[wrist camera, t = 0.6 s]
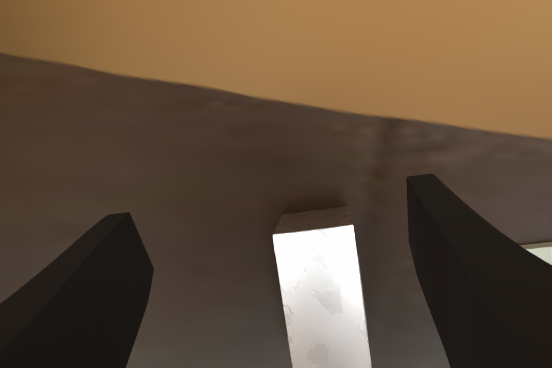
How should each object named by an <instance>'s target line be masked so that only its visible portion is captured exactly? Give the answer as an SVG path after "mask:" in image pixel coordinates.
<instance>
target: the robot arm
mask: <svg viewBox="0 0 552 368" xmlns="http://www.w3.org/2000/svg"><path fill="white" fill-rule="evenodd" d="M407 204H408V231H409V243H410V248H411V252H412V256H413V261H414V265H415V269H416V273H417V277H418V279H419V282H420V285H421V288H422V290H423V293H424V296H425V299H426V301H427V304H428V307H429V309H430V312H431V315H432V317H433V320H434V323H435V325H436V328H437V331H438V333H439V336H440V339H441V341H442V344H443V347H444V349H445V352H446V355H447V358H448V361H449V364H450V367H451V368H552V265H551V264H549V263H548V262H546V261H544V260H543V259H541V258H539V257H538V256H536V255H534V254H533V253H531V252H529V251H528V250H526V249H524V248H523V247H521V246H520V245H518V244H517V243H515V242H514V241H513V240H511V239H510V238H508V237H507V236H506V235H504V234H503V233H501V232H500V231H499V230H497V229H496V228H495V227H493V226H492V225H491V224H490V223H488V222H487V221H486V220H485V219H483V218H482V217H481V216H480V215H479V214H477V213H476V212H475V211H474V210H472V209H471V208H470V207H469V206H468V205H467V204H465V203H464V202H463V201H462V200H461V199H460V198H459V197H457V196H456V195H455V194H454V193H453V192H452V191H451V190H450V189H449V188H448V187H447V186H445V185H444V184H443V183H442V182H441V181H440V180H439V179H438V178H437V177H436V176H434V175H433V174H425V175H417V176H409V177H407ZM153 271H154V268H153V266H152V263H151V261H150V259H149V256H148V254H147V252H146V250H145V247H144V245H143V243H142V240H141V238H140V236H139V233H138V231H137V229H136V226H135V224H134V222H133V219H132V217H131V215H130V213H129V212H127V213H119V214H111V215H107V216H106V217H104V218H103V219H102V220H100V221H99V222H98V223H97V224H95V225H94V226H93V227H92V228H91V229H89V230H88V231H87V232H86V233H85V234H84V235H83V236H81V237H80V238H79V239H78V240H77V241H76V242H75V243H73V244H72V245H71V246H70V247H69V248H68V249H67V250H65V251H64V252H63V253H62V254H61V255H60V256H59V257H57V258H56V259H55V260H54V261H53V262H52V263H51V264H49V265H48V266H47V267H46V268H45V269H43V270H42V271H41V272H40V273H38V274H37V275H36V276H35V277H34V278H32V279H31V280H30V281H29V282H27V283H26V284H25V285H24V286H23V287H21V288H20V289H19V290H18V291H16V292H15V293H14V294H12V295H11V296H10V297H9V298H7V299H6V300H5V301H3V302H2V303H0V368H126V365H127V362H128V359H129V356H130V353H131V351H132V348H133V345H134V342H135V339H136V336H137V333H138V330H139V327H140V324H141V321H142V318H143V315H144V312H145V309H146V306H147V303H148V298H149V294H150V289H151V283H152V277H153Z"/></svg>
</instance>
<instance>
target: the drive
mask: <svg viewBox="0 0 552 368" xmlns="http://www.w3.org/2000/svg"><path fill="white" fill-rule="evenodd" d="M273 241H274V247H275V254H276V260H277V267H278V274H279V280H280V287H281V293H282V300H283V307H284V313H285V320H286V326H287V333H288V340H289V346H290V353H291V359H292V366H293V368H372V367H371V360H370V352H369V345H368V337H369V335H368V327H367V320H366V312H365V304H364V297H363V289H362V282H361V274H360V266H359V259H358V253H357V249H356V245H355V238H354V230H353V224H352V220H351V216H350V213H349V209H348V206H346V207H338V208H330V209H322V210H314V211H306V212H298V213H291V214H283V215H282V216H281V218H280V220H279V222H278V224H277V227H276V229H275V231H274V233H273Z"/></svg>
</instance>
